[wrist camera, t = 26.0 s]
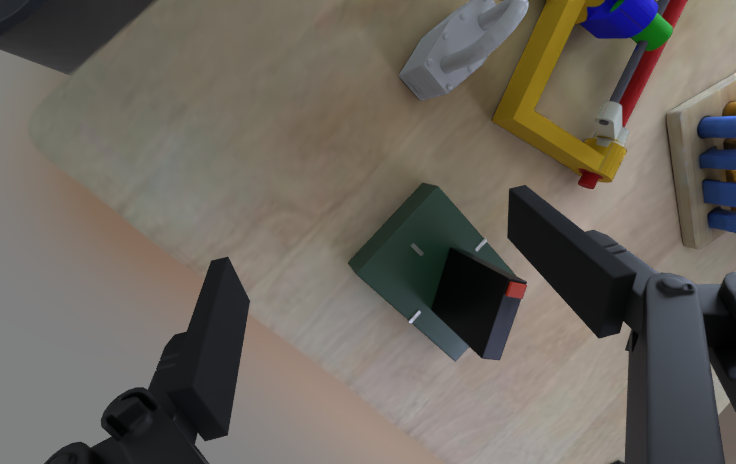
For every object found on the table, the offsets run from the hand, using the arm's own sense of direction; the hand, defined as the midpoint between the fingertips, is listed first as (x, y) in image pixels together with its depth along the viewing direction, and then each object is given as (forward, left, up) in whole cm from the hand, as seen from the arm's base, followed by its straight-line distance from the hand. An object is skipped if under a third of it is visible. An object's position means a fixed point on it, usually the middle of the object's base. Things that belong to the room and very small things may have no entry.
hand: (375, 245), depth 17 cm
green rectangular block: (+13, +3, -15) cm, 20 cm away
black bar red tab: (+13, +3, -12) cm, 18 cm away
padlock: (-1, +15, -15) cm, 22 cm away
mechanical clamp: (+6, +30, -15) cm, 34 cm away
